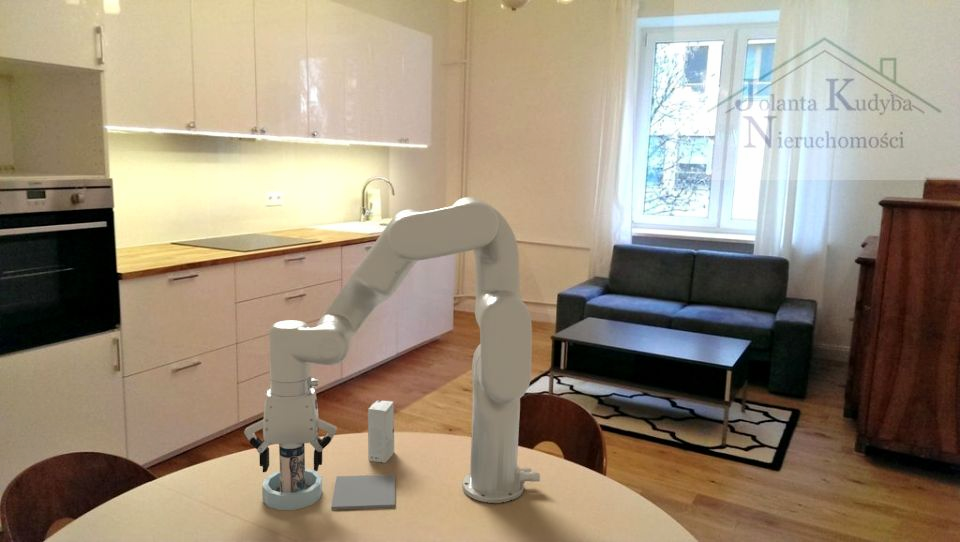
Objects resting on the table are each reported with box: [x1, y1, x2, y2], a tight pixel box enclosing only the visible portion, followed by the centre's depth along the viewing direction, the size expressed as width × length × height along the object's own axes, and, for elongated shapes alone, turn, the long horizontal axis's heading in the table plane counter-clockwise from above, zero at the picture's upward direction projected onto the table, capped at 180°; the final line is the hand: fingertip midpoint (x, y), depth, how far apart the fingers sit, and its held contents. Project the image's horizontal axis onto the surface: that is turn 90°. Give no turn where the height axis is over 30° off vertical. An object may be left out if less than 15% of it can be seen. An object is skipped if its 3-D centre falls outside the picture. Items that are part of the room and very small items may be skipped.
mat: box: [330, 474, 396, 511], centre depth 132 cm, size 12×12×1 cm
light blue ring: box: [261, 467, 323, 511], centre depth 130 cm, size 11×11×3 cm
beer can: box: [278, 443, 306, 493], centre depth 130 cm, size 5×5×12 cm
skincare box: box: [367, 399, 395, 464], centre depth 147 cm, size 6×4×12 cm
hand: (291, 468), depth 130 cm, fingers open, 9 cm apart
